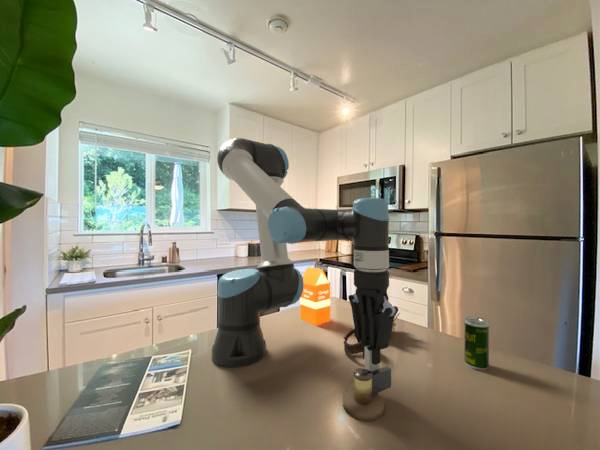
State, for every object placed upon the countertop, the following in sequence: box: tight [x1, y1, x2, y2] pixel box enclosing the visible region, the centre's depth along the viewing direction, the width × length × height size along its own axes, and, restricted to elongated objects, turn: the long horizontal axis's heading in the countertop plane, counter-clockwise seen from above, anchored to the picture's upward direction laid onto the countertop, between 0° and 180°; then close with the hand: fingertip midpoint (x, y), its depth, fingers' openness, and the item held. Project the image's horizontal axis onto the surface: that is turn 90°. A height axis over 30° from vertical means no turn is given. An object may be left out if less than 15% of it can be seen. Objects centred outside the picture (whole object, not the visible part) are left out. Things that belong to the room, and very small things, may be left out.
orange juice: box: [299, 266, 331, 326], centre depth 104 cm, size 8×9×20 cm
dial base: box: [342, 387, 384, 422], centre depth 55 cm, size 8×8×2 cm
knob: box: [352, 365, 392, 405], centre depth 57 cm, size 9×4×5 cm, turn 120°
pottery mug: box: [343, 327, 363, 355], centre depth 79 cm, size 12×10×8 cm
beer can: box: [463, 315, 490, 371], centre depth 71 cm, size 5×5×12 cm
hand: (371, 375), depth 60 cm, fingers closed
